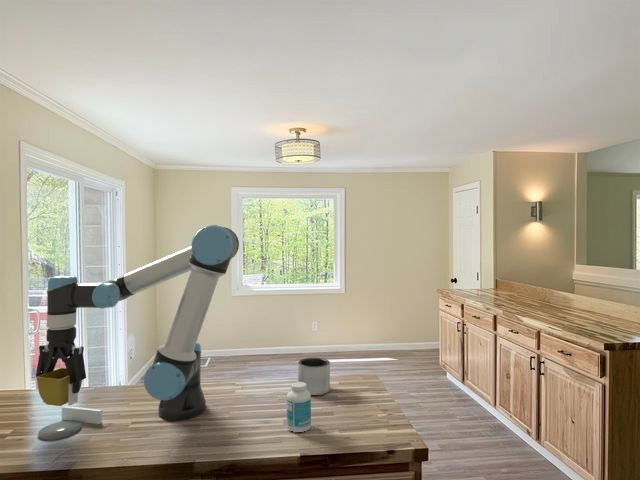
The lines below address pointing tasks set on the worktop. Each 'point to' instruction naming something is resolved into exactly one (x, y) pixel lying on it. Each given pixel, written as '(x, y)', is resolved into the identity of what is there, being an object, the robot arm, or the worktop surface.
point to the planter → (315, 375)
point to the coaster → (60, 430)
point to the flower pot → (54, 387)
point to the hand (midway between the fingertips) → (60, 402)
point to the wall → (82, 414)
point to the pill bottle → (298, 408)
